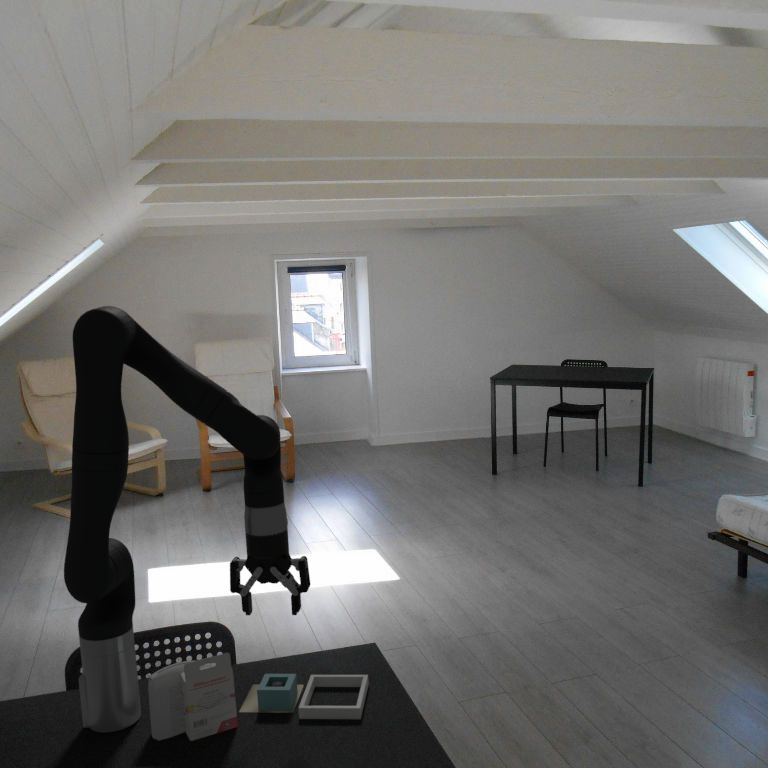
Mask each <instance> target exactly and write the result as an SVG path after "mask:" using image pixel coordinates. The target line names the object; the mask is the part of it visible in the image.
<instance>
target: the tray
mask: <svg viewBox="0 0 768 768" xmlns="http://www.w3.org/2000/svg"><path fill="white" fill-rule="evenodd" d="M369 684H370V683H369V674H310V677H309V680H308V682H307V685H306V686H305V687H306V688H305V690H304V693H303V695H302V698H301V700H300V703H299V705H298V719H299V720H362V715H363V710H364V707H365V702H366V698H367V693H368V688H369ZM316 688H359V694H358V697H357V701H356V705H310V703H311V699H312V697H313V695H314V692H315V691H314V690H315V689H316Z"/></svg>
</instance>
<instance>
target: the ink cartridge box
mask: <svg viewBox="0 0 768 768" xmlns="http://www.w3.org/2000/svg"><path fill="white" fill-rule="evenodd" d="M193 661H194V662H190V663H186V664H185V665H184V672H183V673H180V679H181V690H182V701H183V711H184V721H185V730H186V732H185V734H186V735H187V737H188V739H189V741H190V742H194V741H196V740H200V739H203V738H206V737H209V736H212V735H215V734H219V733H222V732H225V731H229V730H231V729H235V728H238V727H239V724H238V712H237V711H238V710H237V702H236V701H237V700H236V688H235V682H234V681H235V679H234V670H233V668H232V660H231V653H229V652H225V653H222V654H218V655H217V654H216V655H212V656H209V657H206V658H200V659H198V660H193Z"/></svg>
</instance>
